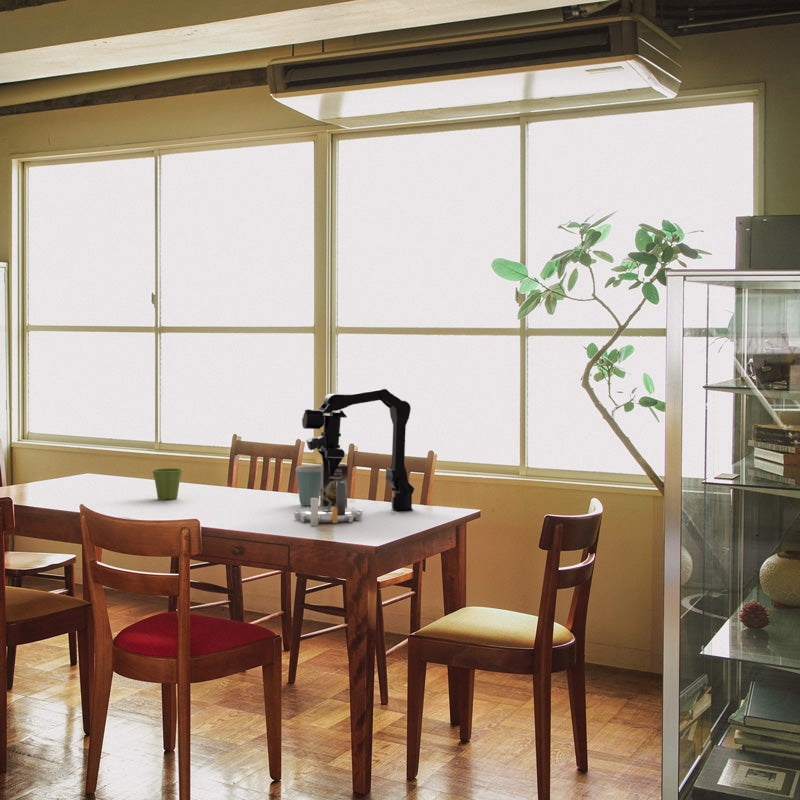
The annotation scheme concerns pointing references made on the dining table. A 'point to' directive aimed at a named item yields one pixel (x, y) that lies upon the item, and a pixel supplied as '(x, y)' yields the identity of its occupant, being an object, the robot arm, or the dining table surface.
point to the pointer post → (314, 511)
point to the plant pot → (167, 482)
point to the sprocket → (332, 510)
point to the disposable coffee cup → (308, 483)
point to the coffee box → (332, 485)
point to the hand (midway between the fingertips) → (328, 473)
